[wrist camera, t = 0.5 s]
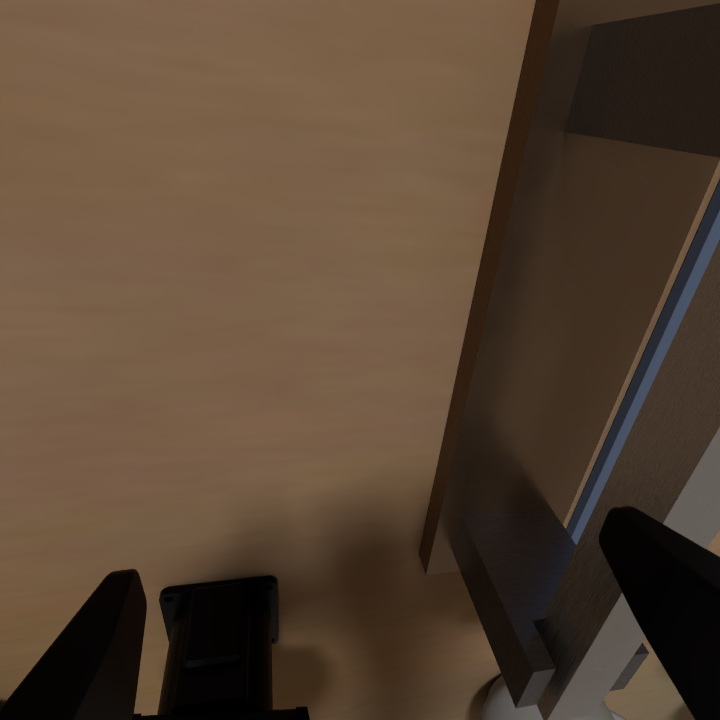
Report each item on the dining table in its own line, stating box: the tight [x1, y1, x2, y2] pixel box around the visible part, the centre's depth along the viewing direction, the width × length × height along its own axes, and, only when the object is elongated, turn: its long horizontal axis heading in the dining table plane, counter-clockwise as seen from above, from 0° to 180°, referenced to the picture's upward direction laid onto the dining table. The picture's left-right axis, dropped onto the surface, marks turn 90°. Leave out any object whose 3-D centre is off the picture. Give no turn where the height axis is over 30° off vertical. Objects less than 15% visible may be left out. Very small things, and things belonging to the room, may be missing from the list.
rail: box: [537, 240, 720, 720], centre depth 15 cm, size 27×2×2 cm, turn 176°
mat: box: [566, 181, 720, 545], centre depth 25 cm, size 30×10×1 cm, turn 176°
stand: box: [419, 0, 720, 708], centre depth 18 cm, size 29×8×10 cm, turn 176°
